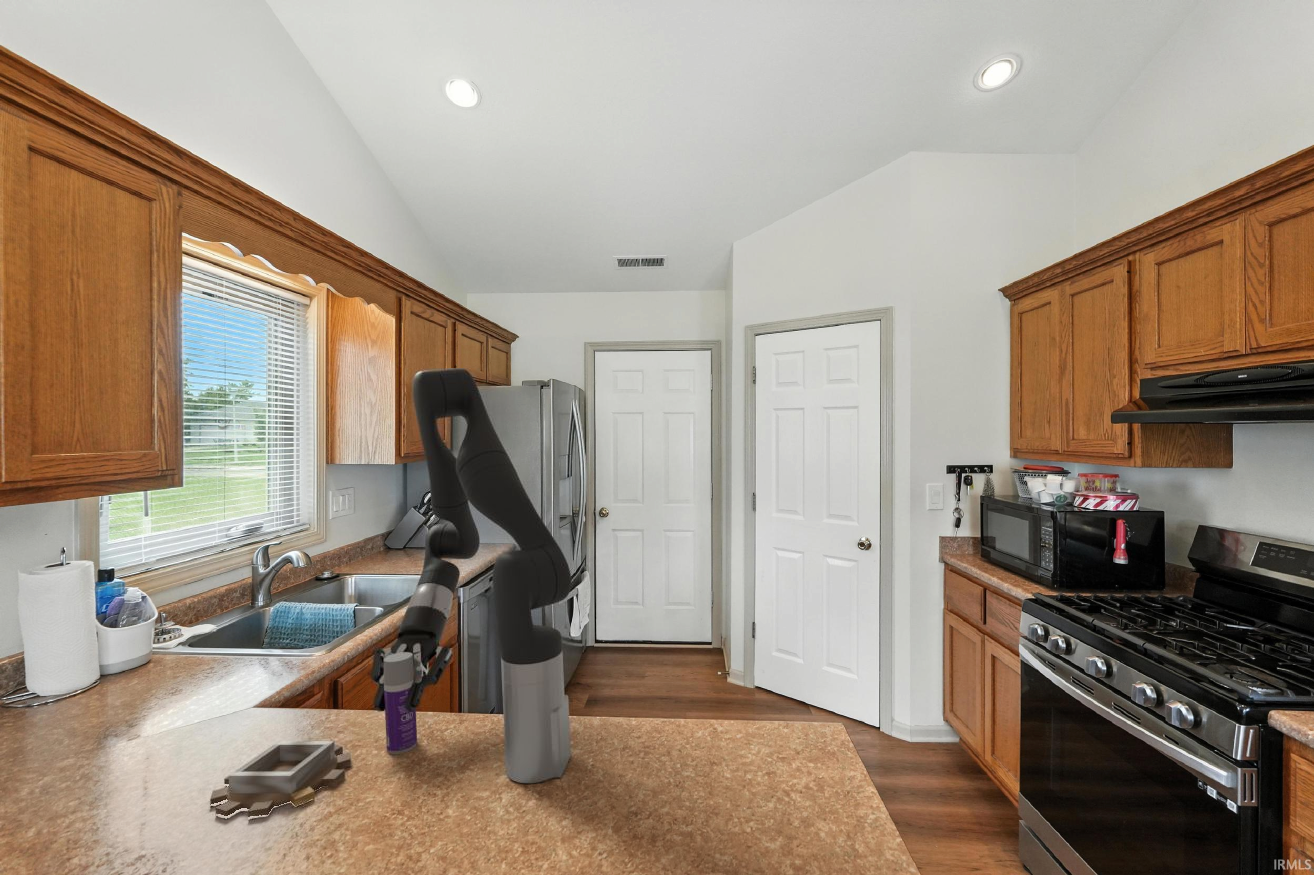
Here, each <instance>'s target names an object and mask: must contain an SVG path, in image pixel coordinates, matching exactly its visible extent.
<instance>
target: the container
mask: <svg viewBox="0 0 1314 875" xmlns="http://www.w3.org/2000/svg"><path fill="white" fill-rule="evenodd" d="M412 684H415V671H414V667H413V654H412V653H410V652H401V653H396V654H392V655H389V656H387V657H385V658H384V699H385V710H384V716H385V717H384V719H385V720H384V721H385V738H386V742H385V743H386V752H387V753H388V754H390V755H400V754H405V753H407V752H410V751H412V750H414V749H415V748H416V747H417V744H418V734H417V733H418V730H417V707H416V708H415V710H414V711H408V710H407V709H406V707H405V705H406V702H407V699H408V696H409V693H410V690H411V687H412Z"/></svg>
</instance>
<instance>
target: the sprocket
mask: <svg viewBox="0 0 1314 875" xmlns="http://www.w3.org/2000/svg"><path fill="white" fill-rule="evenodd" d="M343 747H344V746H343V745H339V744H335V741H334V740H332V741H331V740H328V741H327V740H324V741H323V740H320V741H319V740H315V741H314V740H313V741H310V740H309V741H307V740H306V741H304V740H303V741H301V740H300V741H298V740H297V741H295V740H293V741H292V740H290V741H285V740H284V741H283V740H282V741H276V743H274V744H273V745H271V746H269V747H268V748H267V749H266V750H264V751H262V752H261V753H259V754H258V755H257V756H255V757H254V758H252V759H250V760H249V761H248V762H246V763H245V764H244V765H242V766H241V767H239V768H238V769H236V770H235V771H233V772H232V773H230V774H229V775H228V776H226V777H225V778H223V780H224V781H223V784H229V786H228V787H221V788H218V789H215V790H212V793H211V795H210V797H209V799H210V800H209V802H210V803H209V805H211V804H214V803H218V802H221V801H223V800H226V799H227V800H228V801H227V802H225V803H223V804H221V805H218V806H215V814H216V813H217V814H221V815H224V816H228V815H230V814H232V813H234V812H235V811H236V810H239V809H241V808H247V809H249V810H248V812H247V818H248V817H250V816H259V815H261V816H262V815H268V814H269V812H270V811H271V809H272V808H273V807H274V806H279V805H281V804H284V803H287V802H290V801H291V802H292V803H293V804H294V805H295V806H297V805H299V804H302V803H305V802H307V801H309V800H311V799H314V800H315V792H316V791H315V790H317V789H319V788H320V787H322V786H326V787H325V788H335V787H336V786H338V785H339V784H340V783H341V782H342V781H343V780H344V779H345V778H346V772H345V771H346V770H345V769H347V768H346V767H348V768H350V767H349V766H351V767H352V759H351V758H352V755H351V751H350V752H346V753H344V750H343ZM342 753H343V754H342ZM340 754H341V755H340ZM338 755H339V756H338ZM343 768H344V769H343ZM340 769H341V770H340ZM342 779H343V780H342ZM327 786H328V787H327ZM322 788H323V787H322ZM320 789H321V788H320ZM320 789H319V790H320ZM314 791H315V792H314ZM317 791H318V790H317Z"/></svg>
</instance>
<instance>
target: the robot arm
mask: <svg viewBox="0 0 1314 875" xmlns="http://www.w3.org/2000/svg"><path fill="white" fill-rule="evenodd" d="M412 380H413V381H412V399H413V404H414V405H413V406H414V409H415V416H416V420H417V425H418V430H419V434H420V440H421V444H422V448H423V453H424V456H425V460H426V462H425V463H426V467H427V471H428V478H429V490H430V502H431V511H432V514H433V516H435V517H436V518H437V519H441V520H443V521H447V522H449V523H438V524H435V525H432V526H431V528H429V530H428V531H427V532H426V535H425V538H424V539H425V542H424V543H425V544H424V559H423V566H422V571H421V573H420V574H421V575H420V578H419V579H418V582H417V585H416V587H415V590H414V592H413V593H412V595H411V596H410V600H409V602H408V604H407V608H406V611H405V613H404V616H403V618H402V621H401V624H400V626H399V629H398V630H397V631H398V632H397V638H396V640H395V641H394V642H393V643H392V644H391V646H390V647H387V648H384V649H383V648H382V647H380V646H379V647H376V648H375V649H374V651H373V652H374V654H373V660H372V665H371V666H372V667H371V674H370V679H371V680H372V682H374V683H375V684H376V685H377V686H378V688H377V691H376V693H375V697H374V699H373V702H372V704H373V705H374V709H375V710H376V711H378V712H385V699H384V658H385V657H387V656H389V655H392V654H396V653H401V652H410V653H412V654H413V667H414V681H415V684H412V687H411V690H410V693H409V696H408V699H407V702H406V705H405V707H406V709H407V710H408V711H414V710H415V708H416V709H417V708H418V707H419V705H420V704H421V700H422V696H423V694H424V691H425V688H426V689H427V687H428V686H430V685H431V686H432V685H433V686H436V685H437V684H438V683H439V681H440V680H441V678H442V676H443V674H444V673H445V670H446V668H448V665H449V663H450V662H451V659H452V658H453V656H454V654H453V652H452V649H450V648H449V646H448V645H444V646H440V642H441V641H442V638H443V634H444V631H445V628H446V625H447V622H448V620H449V616H450V614H451V609H452V605H453V599H454V595H455V592H456V589H457V585H458V583H459V580H460V575H461V571H460V569H459V567H458V566H457V565H456V564H455V563H452V562H451V561H448V560H445V559H449V560H451V559H452V560H470V559H472V558H474V556H475V555H477V553H478V550H479V548H480V540H481V539H480V534H479V531H478V528H477V525H476V522H475V520H474V517H473V515H472V511H471V509H470V505H471V506H472V507H473V508H475V510H477V511H478V512H479V513H480V514H482V515H483V516H484V517H486V518H487V519H488V520H489V521H491V522H493V523H494V524H495V525H497V526H498V527H500V529H502V530H503V531H505V532H506V533H508V535H509V536H510V537H511V538H512V539H513V540H514V542H515V543H516V545H517V546H518V547H519V549H517V550H512V551H508V552H505V553H501V554H500V555H499V556H498V557H497V558H496V559H495V563H494V565H493V570H492V591H493V592H492V593H493V600H494V601H493V602H494V611H495V626H496V634H497V639H498V643H499V647H500V662H501V664H500V665H501V683H502V684H501V685H502V686H501V689H502V706H503V708H502V710H503V711H502V712H503V730H504V732H503V734H504V754H505V756H504V758H505V759H504V761H505V762H504V763H505V772H506V776H507V778H509V779H510V780H512V781H514V782H517V783H519V784H520V783H521V784H534V783H541V782H545V781H548V780H551V779H554V778H561V777H563V774H564V772H565V770H566V768H567V765H568V764H569V763H568V762H569V761H570V758H571V757H572V752H571V748H572V747H571V730H570V729H571V727H570V708H569V707H570V706H569V705H570V704H569V696H568V695H567V694H565V681H564V680H565V679H564V677H565V676H564V658H563V638H562V634H561V632H560V631H559V630H558V629H557V628H555V627H553V626H552V627H550V626H547V625H538V624H537V625H536V624H534V622H533V618H532V617H533V616H532V610H536V609H540V608H543V607H547V606H551V605H554V604H558V603H559V602H562V601H563V600H565V599H566V598H568V596H569V595H570V592H571V588H572V575H571V570H570V567H569V563H568V561H567V559H566V556H565V554H564V552H563V551H562V549H561V547H560V546H559V544H558V543H557V541H556V539H555V538H554V537H553V535H552V534H551V531H550V530H549V529H548V527H547V526H546V524H545V522H544V521H543V520H542V518H541V517H540V514H539V513H538V512H537V510H536V508H535V506H534V504H533V503H532V500H531V499H530V498H529V495H528V493H527V492H526V489H525V487H524V486H523V483H522V481H521V479H520V477H519V474H518V472H517V470H516V469H515V466H514V465H513V462H512V461H511V458H510V456H509V455H508V452H507V451H506V450H505V447H504V445H503V444H502V442H501V440H500V437H499V436H498V434H497V431H496V430H495V427H494V425H493V423H492V421H491V419H490V417H489V414H488V411H487V409H486V406H485V404H484V401H483V398H482V395H481V393H480V390H479V387H478V385H477V382H476V381H475V379H474V376H473V375H472V374H471V373H470V372H469V371H468V370H467V369H465V368H461V367H459V368H457V367H456V368H454V367H453V368H442V369H440V368H439V369H428V370H421V371H420V370H419V371H418V372H417V373H415V375H414V377H413V379H412ZM454 417H462V418H464V420H465V421H466V430H465V434H464V438H463V440H462V441H461V445H460V447H459V450H458V452H457V456H455V455H454V454H453V453H452V451H451V450H450V448H448V446H447V444H446V443H445V442H444V440H443V439H442V437H441V434H440V432H439V427H438V422H437V420H438V419H446V418H454ZM469 503H470V504H469ZM434 657H435V659H434V661H433V663H432V664H431V666H430V669H429V662H430V661H432V659H433V658H434Z"/></svg>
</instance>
